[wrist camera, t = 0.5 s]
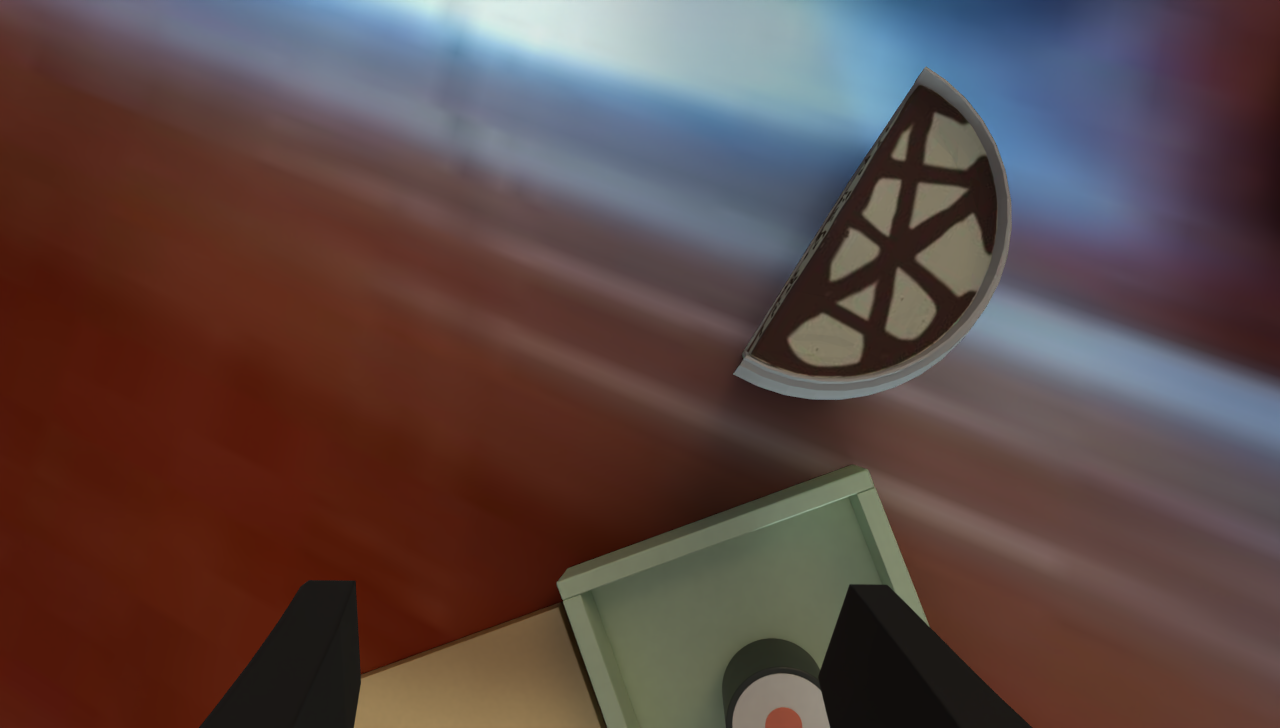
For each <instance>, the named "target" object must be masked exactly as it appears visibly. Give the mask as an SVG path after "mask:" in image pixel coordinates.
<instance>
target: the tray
mask: <svg viewBox="0 0 1280 728" xmlns="http://www.w3.org/2000/svg"><path fill="white" fill-rule="evenodd" d="M850 584H875V585H888V586H889V587H890V588H891V589H892V590H893V591H894V592H895V593H896V594H897V595H898V596H899V597H900V598H901V599H902V600H903V601H904V602H905V603H906V604H907V605H908V606H909V607H910V608H911V609H912V610H913V611H914V612H915V613H916V614H917V615H918V616H919V617H920V618H921V619H922V620H923V621H924V622H925V623H926V624H927V625H928V626H929V624H928V621H927V619H926V616H925V614H924V611H923V609H922V606H921V603H920V601H919V598H918V596H917V593H916V591H915V588H914V585H913V583H912V580H911V578H910V575H909V573H908V570H907V568H906V565H905V562H904V560H903V557H902V555H901V552H900V550H899V547H898V544H897V542H896V539H895V537H894V534H893V532H892V529H891V527H890V524H889V521H888V519H887V516H886V514H885V511H884V509H883V506H882V504H881V501H880V498H879V496H878V493H877V491H876V488H875V487H874V483H873V481H872V478H871V476H870V473H869V471H868V469H865V468H862V467H859V466H856V465H853V464H852V465H850V466H847V467H844V468H841V469H839V470H836V471H833V472H830V473H828V474H825V475H822V476H819V477H817V478H814V479H811V480H808V481H806V482H803V483H800V484H797V485H795V486H792V487H789V488H787V489H784V490H781V491H778V492H776V493H773V494H770V495H767V496H765V497H762V498H759V499H756V500H754V501H751V502H748V503H745V504H743V505H740V506H737V507H734V508H732V509H729V510H726V511H724V512H721V513H718V514H715V515H713V516H710V517H707V518H704V519H702V520H699V521H696V522H693V523H691V524H688V525H685V526H682V527H680V528H677V529H674V530H671V531H669V532H666V533H663V534H660V535H658V536H655V537H652V538H650V539H647V540H644V541H641V542H639V543H636V544H633V545H630V546H628V547H625V548H622V549H619V550H617V551H614V552H611V553H608V554H606V555H603V556H600V557H597V558H595V559H592V560H589V561H587V562H584V563H581V564H578V565H576V566H573V567H570V568H568V569H567V570H566V571H565V573H564V574H563V575H562V576H561V578H560V579H559V580H558V581H557V587H558V589H559V592H560V595H561V598H562V599H563V604H564V607H565V609H566V612H567V615H568V618H569V621H570V624H571V626H572V629H573V632H574V635H575V638H576V641H577V643H578V646H579V649H580V652H581V655H582V658H583V660H584V663H585V666H586V669H587V672H588V674H589V677H590V680H591V683H592V686H593V689H594V691H595V694H596V697H597V700H598V703H599V706H600V708H601V711H602V714H603V717H604V720H605V723H606V725H607V728H726V725H725V715H724V706H723V697H722V682H723V677H724V673H725V670H726V668H727V666H728V664H729V662H730V660H731V659H732V658H733V656H734V655H735V654H736V653H737V652H738V651H739V650H740V649H742V648H743V647H744V646H746V645H748V644H749V643H752V642H754V641H757V640H761V639H767V638H777V639H783V640H787V641H790V642H792V643H795V644H796V645H798V646H800V647H801V648H803V649H804V650H805V651H806V652H808V653H809V654H810V655H811V657H812V658H813V659H814V660H815V662H816V663H817V665H818V667H819V669H821V667H822V664H823V661H824V658H825V655H826V652H827V649H828V646H829V643H830V640H831V637H832V634H833V631H834V628H835V626H836V623H837V620H838V617H839V614H840V611H841V608H842V605H843V602H844V599H845V596H846V593H847V590H848V587H849V585H850ZM929 627H930V626H929Z"/></svg>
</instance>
